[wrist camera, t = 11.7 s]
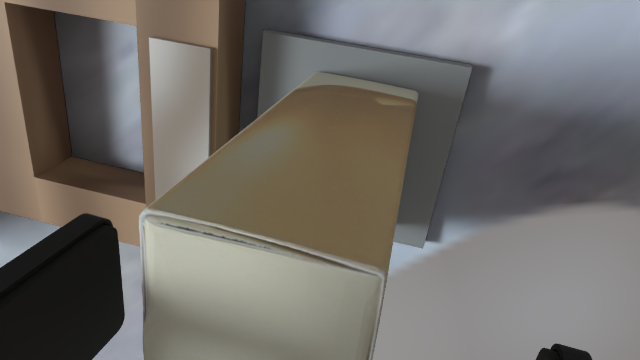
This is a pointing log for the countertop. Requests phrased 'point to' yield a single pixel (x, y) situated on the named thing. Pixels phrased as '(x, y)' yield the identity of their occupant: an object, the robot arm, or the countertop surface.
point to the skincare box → (282, 231)
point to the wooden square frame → (155, 95)
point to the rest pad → (392, 69)
